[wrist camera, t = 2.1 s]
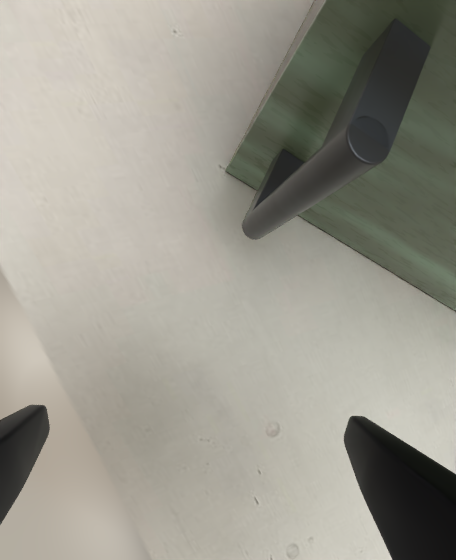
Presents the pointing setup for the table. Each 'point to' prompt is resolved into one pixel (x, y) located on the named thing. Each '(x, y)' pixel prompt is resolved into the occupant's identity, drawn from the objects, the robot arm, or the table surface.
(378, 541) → the table surface
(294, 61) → the green cabinet door
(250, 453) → the table surface
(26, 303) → the table surface
